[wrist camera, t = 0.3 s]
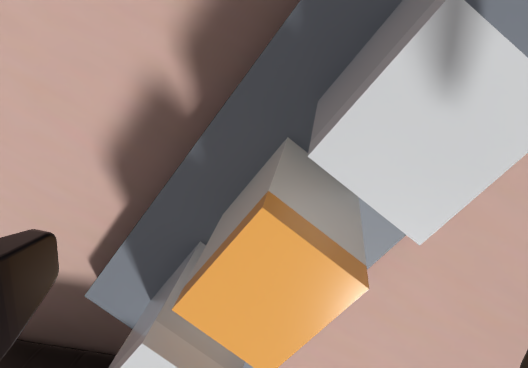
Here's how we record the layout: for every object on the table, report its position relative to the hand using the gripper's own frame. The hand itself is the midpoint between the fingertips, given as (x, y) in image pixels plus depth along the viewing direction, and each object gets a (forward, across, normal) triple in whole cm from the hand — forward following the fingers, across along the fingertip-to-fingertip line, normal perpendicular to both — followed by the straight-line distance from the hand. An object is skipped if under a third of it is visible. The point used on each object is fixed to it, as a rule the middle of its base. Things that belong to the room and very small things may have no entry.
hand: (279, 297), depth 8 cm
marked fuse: (+11, +1, +4) cm, 12 cm away
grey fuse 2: (+11, -3, -2) cm, 12 cm away
